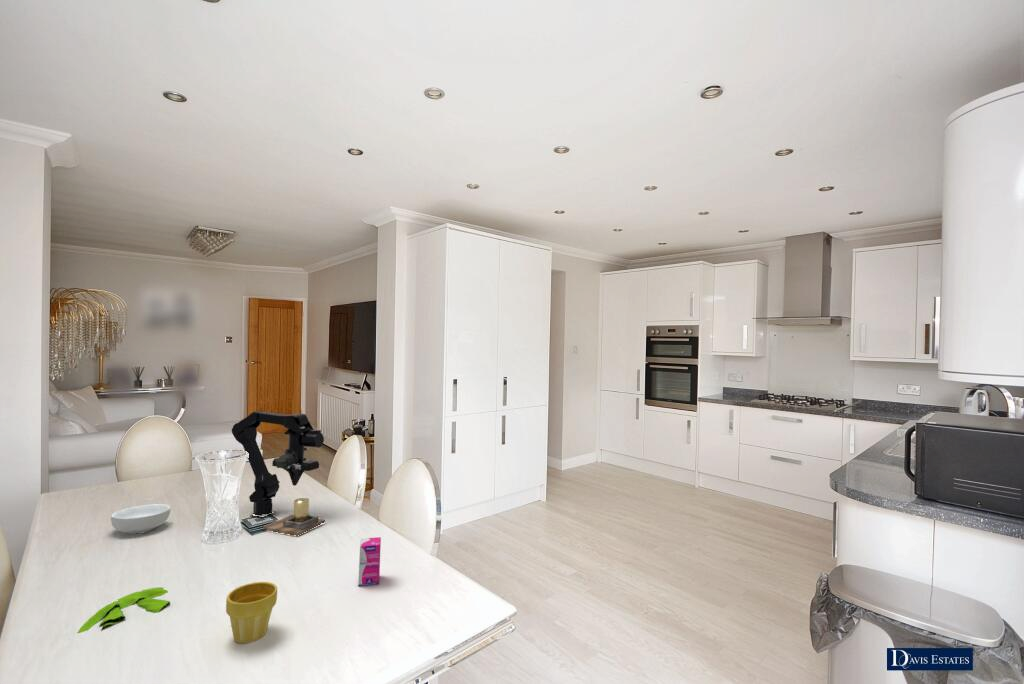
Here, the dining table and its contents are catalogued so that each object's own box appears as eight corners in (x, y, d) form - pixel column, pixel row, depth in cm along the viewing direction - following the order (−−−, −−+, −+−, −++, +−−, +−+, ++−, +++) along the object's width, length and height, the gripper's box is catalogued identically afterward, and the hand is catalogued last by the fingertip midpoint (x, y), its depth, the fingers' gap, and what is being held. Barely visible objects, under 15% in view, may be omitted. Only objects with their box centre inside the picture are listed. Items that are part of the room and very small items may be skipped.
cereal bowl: (181, 523, 174) (181, 504, 175) (141, 540, 158) (142, 519, 158) (140, 520, 176) (141, 502, 176) (97, 537, 160) (98, 517, 160)
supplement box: (358, 587, 129) (359, 545, 129) (359, 577, 135) (360, 537, 135) (379, 584, 130) (380, 544, 131) (379, 575, 136) (380, 536, 137)
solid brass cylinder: (290, 525, 170) (291, 501, 170) (300, 521, 175) (301, 497, 175) (301, 527, 168) (302, 502, 169) (311, 522, 173) (311, 498, 173)
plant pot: (283, 621, 112) (285, 580, 112) (262, 648, 101) (264, 603, 102) (240, 621, 111) (242, 580, 112) (214, 648, 101) (216, 603, 101)
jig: (262, 530, 168) (262, 521, 168) (291, 518, 182) (292, 509, 182) (297, 537, 163) (297, 527, 163) (324, 523, 176) (325, 514, 177)
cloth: (167, 584, 130) (167, 575, 130) (192, 613, 116) (192, 603, 116) (67, 614, 114) (68, 604, 114) (82, 651, 100) (83, 640, 100)
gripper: (261, 447, 179) (259, 487, 178) (299, 452, 172) (297, 493, 172) (284, 442, 189) (282, 480, 189) (320, 446, 183) (319, 486, 182)
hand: (294, 485), depth 183 cm, fingers closed
